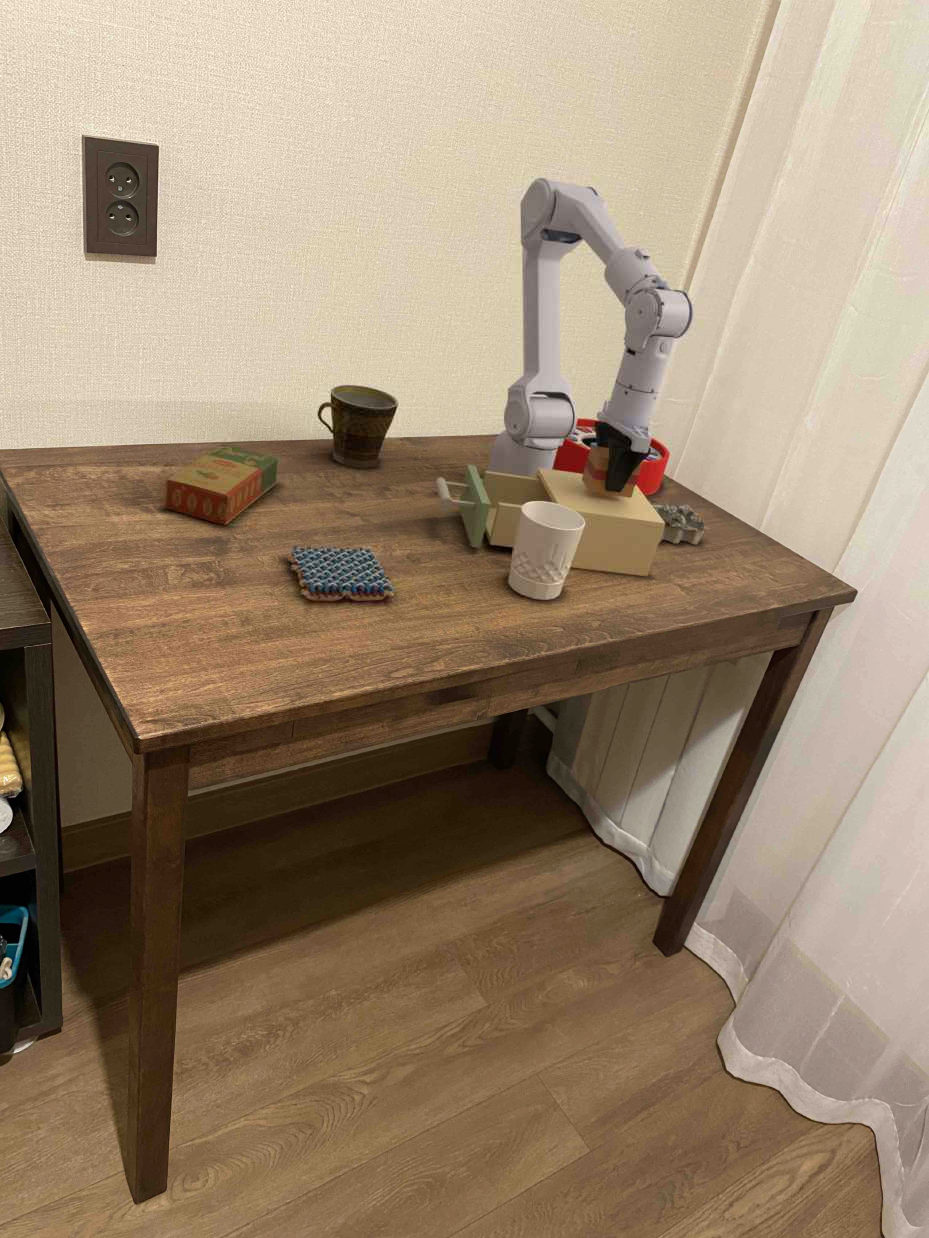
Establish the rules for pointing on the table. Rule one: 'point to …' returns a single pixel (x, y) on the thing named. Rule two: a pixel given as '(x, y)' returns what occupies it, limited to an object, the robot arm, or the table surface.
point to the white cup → (544, 549)
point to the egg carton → (680, 523)
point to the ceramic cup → (359, 423)
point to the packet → (604, 473)
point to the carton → (221, 483)
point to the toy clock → (584, 437)
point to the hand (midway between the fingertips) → (607, 483)
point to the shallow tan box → (607, 525)
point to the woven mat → (340, 574)
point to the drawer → (492, 503)
